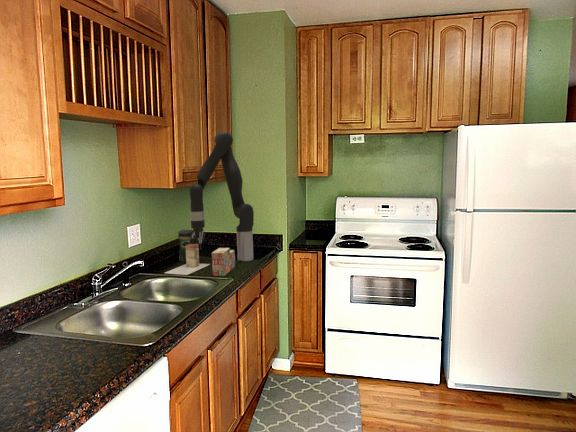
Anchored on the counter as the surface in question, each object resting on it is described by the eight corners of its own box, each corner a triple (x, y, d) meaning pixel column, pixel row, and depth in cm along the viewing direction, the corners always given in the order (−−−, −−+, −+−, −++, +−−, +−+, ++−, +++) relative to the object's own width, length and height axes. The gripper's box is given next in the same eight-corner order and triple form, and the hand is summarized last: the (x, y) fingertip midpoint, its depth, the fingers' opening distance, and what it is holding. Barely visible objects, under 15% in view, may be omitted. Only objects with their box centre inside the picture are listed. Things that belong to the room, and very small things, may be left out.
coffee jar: (198, 259, 259) (196, 228, 257) (194, 262, 251) (192, 230, 249) (182, 259, 260) (180, 228, 258) (178, 262, 252) (176, 231, 250)
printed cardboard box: (224, 266, 241) (223, 244, 240) (235, 266, 240) (234, 244, 239) (212, 276, 220) (211, 252, 219) (224, 276, 219) (223, 252, 218)
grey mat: (189, 264, 247) (188, 262, 247) (210, 265, 243) (210, 264, 243) (163, 274, 225) (163, 273, 225) (186, 276, 220) (186, 274, 220)
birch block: (191, 265, 242) (190, 243, 240) (199, 265, 240) (198, 244, 238) (186, 267, 237) (185, 245, 235) (194, 267, 235) (193, 245, 234)
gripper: (198, 217, 250) (199, 247, 252) (185, 220, 237) (186, 251, 239) (209, 218, 247) (210, 248, 249) (197, 221, 235) (198, 252, 237)
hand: (198, 249), depth 244 cm, fingers closed
